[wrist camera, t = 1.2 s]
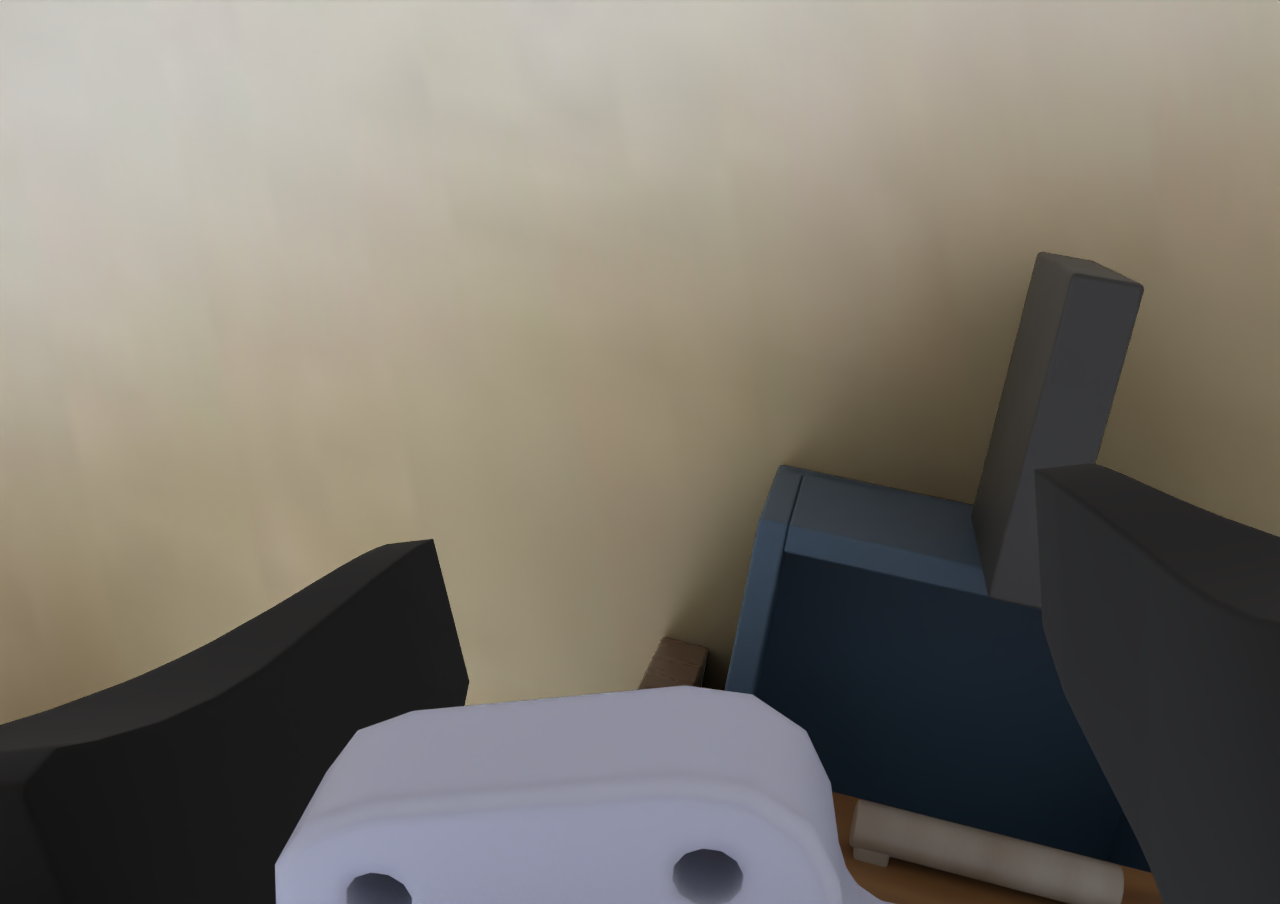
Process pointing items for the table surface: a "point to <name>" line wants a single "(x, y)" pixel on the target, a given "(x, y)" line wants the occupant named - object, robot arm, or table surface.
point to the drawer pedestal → (940, 842)
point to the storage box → (949, 604)
